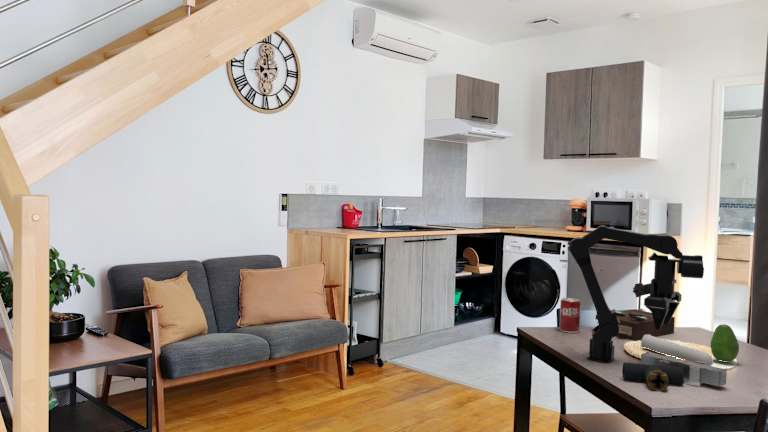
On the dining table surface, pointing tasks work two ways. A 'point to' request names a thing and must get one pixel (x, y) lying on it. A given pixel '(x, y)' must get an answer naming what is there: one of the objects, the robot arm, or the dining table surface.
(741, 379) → the dining table surface
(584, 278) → the robot arm
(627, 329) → the brown flat box
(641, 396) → the dining table surface
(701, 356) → the tube
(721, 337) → the avocado
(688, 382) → the collar rail
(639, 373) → the pipe connector
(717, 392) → the dining table surface
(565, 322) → the soda can
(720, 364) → the dining table surface
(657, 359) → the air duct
